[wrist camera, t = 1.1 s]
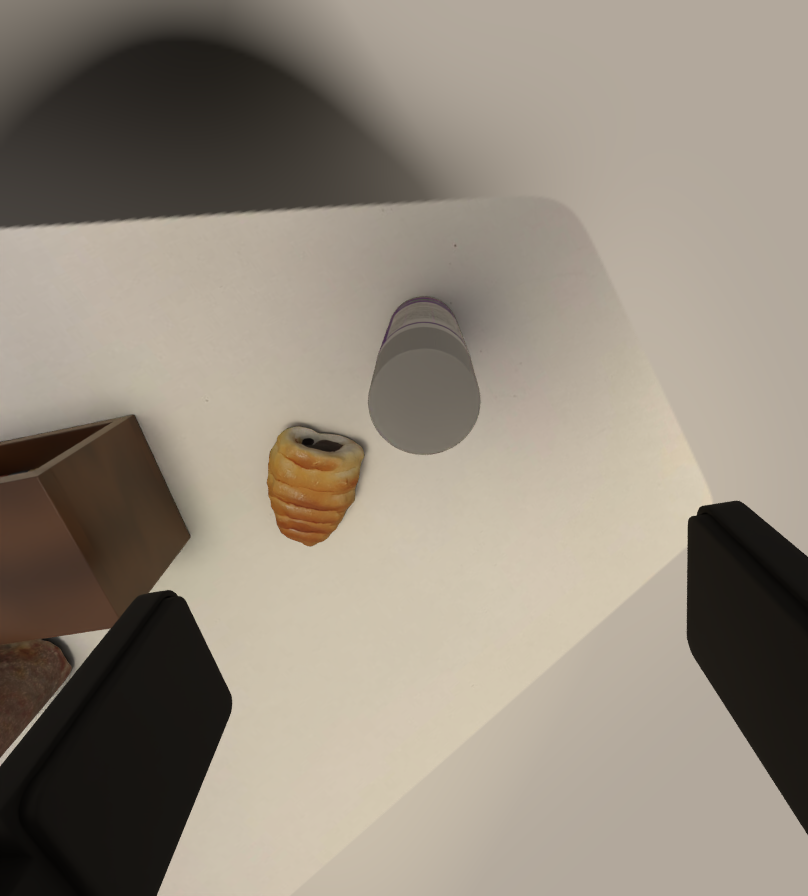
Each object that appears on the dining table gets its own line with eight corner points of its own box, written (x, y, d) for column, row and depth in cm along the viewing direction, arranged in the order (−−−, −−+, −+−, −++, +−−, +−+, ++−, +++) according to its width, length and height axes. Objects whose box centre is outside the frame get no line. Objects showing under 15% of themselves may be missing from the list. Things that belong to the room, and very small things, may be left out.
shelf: (-32, 448, 38) (-177, 517, 29) (134, 414, 36) (37, 476, 27) (39, 563, 42) (-67, 655, 33) (191, 537, 40) (123, 626, 31)
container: (433, 378, 34) (440, 477, 21) (375, 343, 33) (343, 421, 20) (471, 321, 33) (507, 386, 19) (412, 281, 32) (405, 320, 18)
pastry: (346, 540, 40) (338, 570, 37) (264, 522, 40) (248, 550, 36) (368, 437, 36) (362, 459, 33) (278, 416, 36) (262, 436, 32)
